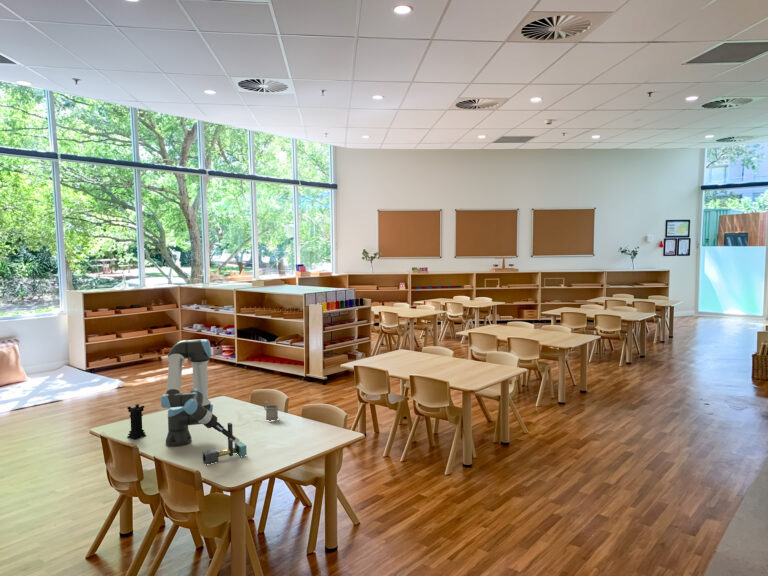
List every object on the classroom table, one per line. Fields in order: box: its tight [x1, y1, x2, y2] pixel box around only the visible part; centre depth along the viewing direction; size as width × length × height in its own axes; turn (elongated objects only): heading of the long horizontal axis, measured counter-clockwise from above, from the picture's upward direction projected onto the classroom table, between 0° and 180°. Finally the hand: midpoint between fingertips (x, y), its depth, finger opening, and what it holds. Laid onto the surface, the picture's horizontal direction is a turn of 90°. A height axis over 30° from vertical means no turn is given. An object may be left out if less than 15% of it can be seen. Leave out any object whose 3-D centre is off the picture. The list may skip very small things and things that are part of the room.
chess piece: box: [126, 403, 147, 441], centre depth 328 cm, size 8×8×20 cm
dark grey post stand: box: [218, 422, 239, 458], centre depth 292 cm, size 3×16×19 cm, turn 129°
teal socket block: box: [233, 440, 248, 458], centre depth 298 cm, size 9×4×6 cm, turn 39°
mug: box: [263, 401, 279, 421], centre depth 362 cm, size 14×10×12 cm
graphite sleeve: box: [202, 448, 219, 466], centre depth 287 cm, size 5×7×6 cm
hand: (236, 441), depth 296 cm, fingers closed on dark grey post stand, 3 cm apart
